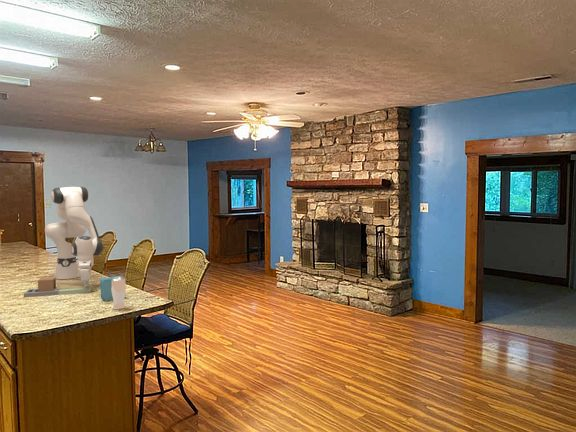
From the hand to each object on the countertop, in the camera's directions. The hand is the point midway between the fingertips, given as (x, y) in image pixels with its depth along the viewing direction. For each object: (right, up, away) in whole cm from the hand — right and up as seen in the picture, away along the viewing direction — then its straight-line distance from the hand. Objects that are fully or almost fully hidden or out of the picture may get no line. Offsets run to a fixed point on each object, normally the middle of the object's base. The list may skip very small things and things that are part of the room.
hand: (86, 285), depth 273 cm
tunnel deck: (-14, -3, -4) cm, 15 cm away
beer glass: (+36, -5, -42) cm, 55 cm away
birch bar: (-8, -1, -2) cm, 8 cm away
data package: (+25, -4, -22) cm, 34 cm away
